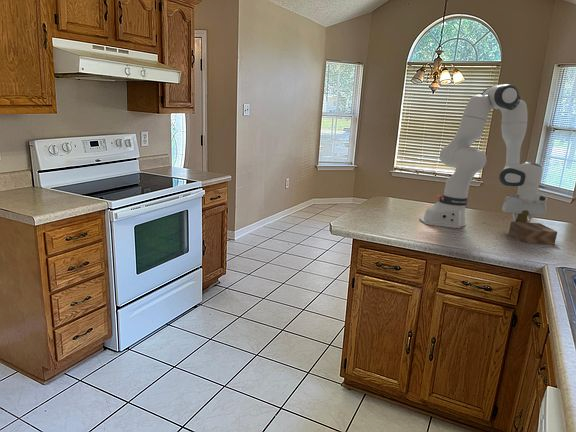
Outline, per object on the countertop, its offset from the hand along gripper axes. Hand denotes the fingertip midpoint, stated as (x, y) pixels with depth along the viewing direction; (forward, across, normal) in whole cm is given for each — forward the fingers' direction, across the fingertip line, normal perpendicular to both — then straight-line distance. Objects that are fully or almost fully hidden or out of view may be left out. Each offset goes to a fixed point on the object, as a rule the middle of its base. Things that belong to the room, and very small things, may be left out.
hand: (521, 222), depth 211 cm
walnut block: (+4, -2, -14) cm, 15 cm away
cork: (+4, 0, 0) cm, 4 cm away
